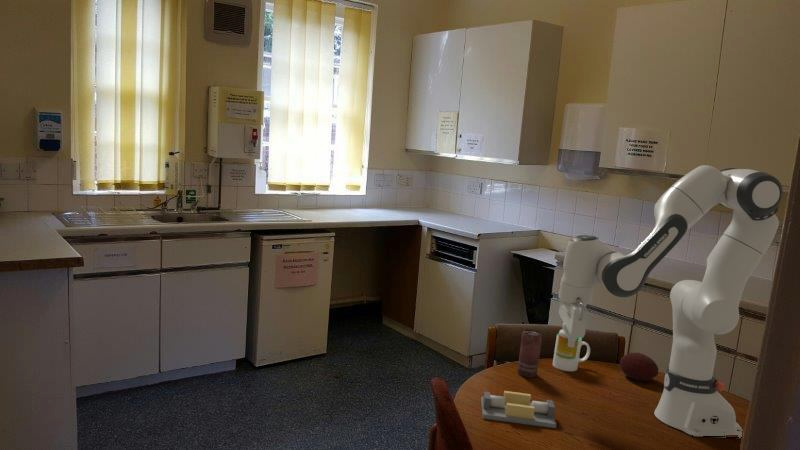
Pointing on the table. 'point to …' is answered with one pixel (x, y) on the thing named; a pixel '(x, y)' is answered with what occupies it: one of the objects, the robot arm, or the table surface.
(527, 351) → the can
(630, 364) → the potato
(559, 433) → the table surface
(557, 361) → the mug
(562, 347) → the supplement bottle
